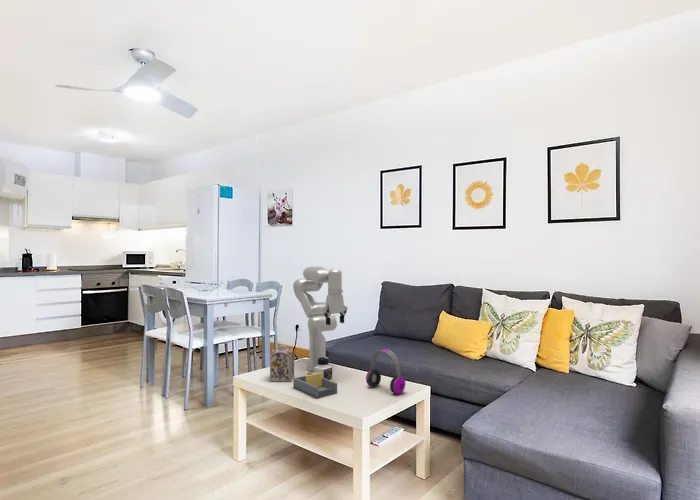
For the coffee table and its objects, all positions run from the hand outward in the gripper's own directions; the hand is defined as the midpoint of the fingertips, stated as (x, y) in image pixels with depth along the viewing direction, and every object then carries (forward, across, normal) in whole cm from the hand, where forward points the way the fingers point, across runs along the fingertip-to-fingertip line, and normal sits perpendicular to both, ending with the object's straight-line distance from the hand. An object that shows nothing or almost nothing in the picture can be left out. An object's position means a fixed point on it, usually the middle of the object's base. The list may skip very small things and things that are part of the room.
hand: (335, 323), depth 234 cm
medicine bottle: (+30, +6, -4) cm, 31 cm away
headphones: (+31, -7, +31) cm, 44 cm away
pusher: (+29, +20, +6) cm, 36 cm away
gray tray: (+30, +20, +8) cm, 37 cm away
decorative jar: (+30, +21, -20) cm, 42 cm away
